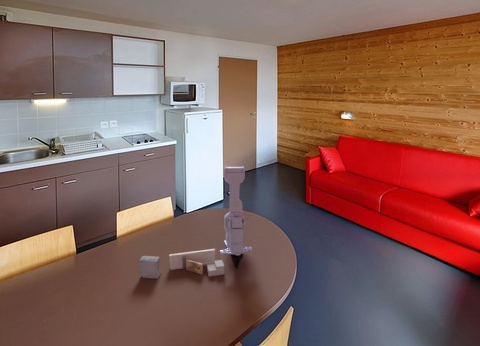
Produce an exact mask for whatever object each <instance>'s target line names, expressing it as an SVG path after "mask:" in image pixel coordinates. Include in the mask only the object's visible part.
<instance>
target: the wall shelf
mask: <svg viewBox="0 0 480 346" xmlns="http://www.w3.org/2000/svg"><path fill="white" fill-rule="evenodd" d="M168 256H169V269H170V271H174V270H181V269H183V270H186V260H187V259H188V260H192V261H195V262H199V263H202V264H203V266H207V265H209V264H214V261H216V248H210V249H202V250H194V251H186V252H178V253H170V254H168Z"/></svg>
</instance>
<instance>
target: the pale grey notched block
mask: <svg viewBox="0 0 480 346" xmlns="http://www.w3.org/2000/svg"><path fill="white" fill-rule="evenodd" d="M206 271H207V275H208V277H215V276H222V275H225V263H224V261H223V260H222V259H217V260H215V261H214V264H209V265H206Z"/></svg>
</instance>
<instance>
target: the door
mask: <svg viewBox="0 0 480 346" xmlns="http://www.w3.org/2000/svg"><path fill="white" fill-rule="evenodd" d="M203 267H204V265H203V264H202V263H199V262H195V261H192V260H188V259H187V260H186V269H185V270H186V271H188V272H193V273H196V274H199V275H203V274H204V268H203Z"/></svg>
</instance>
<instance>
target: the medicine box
mask: <svg viewBox="0 0 480 346" xmlns="http://www.w3.org/2000/svg"><path fill="white" fill-rule="evenodd" d="M138 265H139V266H138V267H139V276H140V278H141V277H143V278H142V279H157V280H158V279H159V277H160V275H161V274H162V270H161V269H162V268H161V257H160V256H154V255H142V256H141V258H139V260H138Z"/></svg>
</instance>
